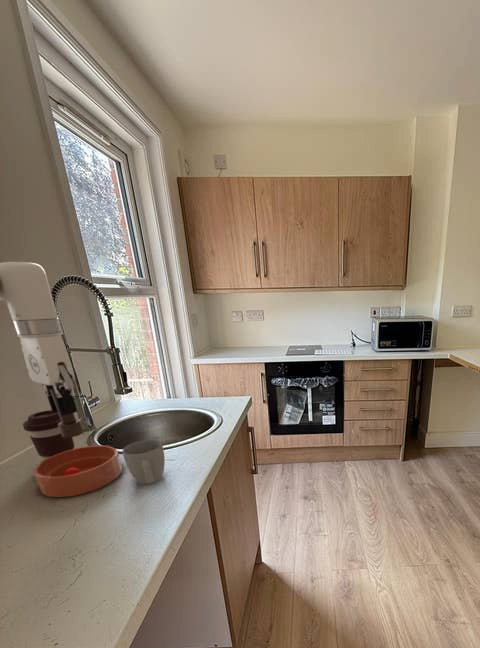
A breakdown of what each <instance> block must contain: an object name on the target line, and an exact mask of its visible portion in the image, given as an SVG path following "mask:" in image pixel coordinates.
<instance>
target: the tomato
mask: <svg viewBox="0 0 480 648" xmlns="http://www.w3.org/2000/svg"><path fill="white" fill-rule="evenodd" d="M80 472H81V471H80V470H79V469H77V468H69V469H67V470H66V471H65V472H64V476H66V475H71V474H77V473H80Z"/></svg>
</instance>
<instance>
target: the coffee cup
mask: <svg viewBox="0 0 480 648" xmlns="http://www.w3.org/2000/svg"><path fill="white" fill-rule="evenodd" d="M60 422H61V419H60V417H59V414H58V412H57V413H53V412H52V410H51V409H49V410H43V411H38V412H35V413H32V414H30V415H28V416H27V420H25V421H24V422H23V423H22V427H23V429H24V431H26V432H28V433H29V438H30V440H31V442H32V444H33V446H34V448H35V450H36V452H37V454H38V456H39V457H40V458H41V460H42V461H43V460H45V459H47V458H49V457H51V456H53V455H56V454H59V453H61V452H64V451H68V450H72V449H75V443H74V437H69V438H65V437H62V435H61V432H60V429H59V426H58V423H60Z"/></svg>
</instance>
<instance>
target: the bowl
mask: <svg viewBox="0 0 480 648" xmlns="http://www.w3.org/2000/svg"><path fill="white" fill-rule="evenodd" d="M69 468H77V469H79V470H80V471H81V472H80V473H77V474H71V475H66V476H64V472H65V471H66V470H67V469H69ZM122 471H123V467H122V463H121V460H120V456H119V453H118V450H117V449H116V448H115V447H113V446H110V445H104V444H103V445H101V444H99V445H98V444H97V445H87V446H81V447H74V449H72V450H68V451H64V452H61V453H59V454H56V455H53V456H51V457H49V458H47V459H45V460H42V461H40V462H39V463H38V464H37V465H35V467H34V468H33V474H34V477H35V479H36V482H37V485H38V487H39V489H40V492H41V494H43V495H45V496H47V497H50V498H52V497H53V498H64V497H65V498H68V497H75V496H79V495H84V494H86V493H90V492H93V491H96V490H99V489H101V488H103V487H105V486H107V485H109V484H111V483H112V482H114V481H115V480H116V479H117V478H118V477H119V476H120V475H121V474H122Z"/></svg>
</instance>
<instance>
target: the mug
mask: <svg viewBox="0 0 480 648" xmlns="http://www.w3.org/2000/svg"><path fill="white" fill-rule="evenodd" d="M122 456H123V459H124V463H125V465H126V467H127V469H128V471H129V473H130V475H131V476H132V477H133V478H134V479H135V481H136V482H137V483H138V484H140V485H143V486H144V485H151V484H155V483H157V482H159V481H160V480H162V478H163V475H164V471H165V465H166V461H165V459H166V458H165V451H164V446H163V442H162V441H160V440H158V439H142V440H137V441H135V442H132V443H129V444H127V445H126V446H124V447H123V449H122Z"/></svg>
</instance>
